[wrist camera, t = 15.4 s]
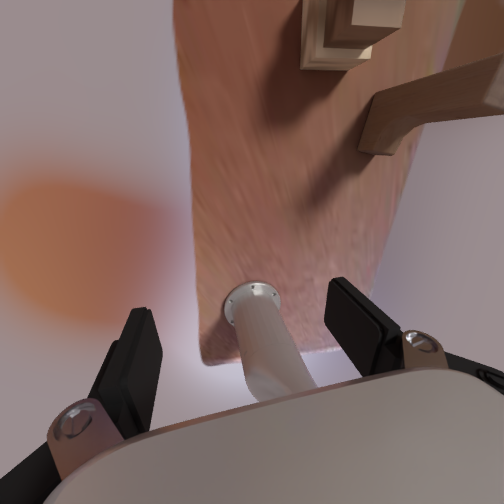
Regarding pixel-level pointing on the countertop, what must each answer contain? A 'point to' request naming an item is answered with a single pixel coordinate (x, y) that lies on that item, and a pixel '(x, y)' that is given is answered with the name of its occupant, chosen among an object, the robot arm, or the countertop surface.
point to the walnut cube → (361, 22)
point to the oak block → (314, 39)
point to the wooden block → (433, 103)
